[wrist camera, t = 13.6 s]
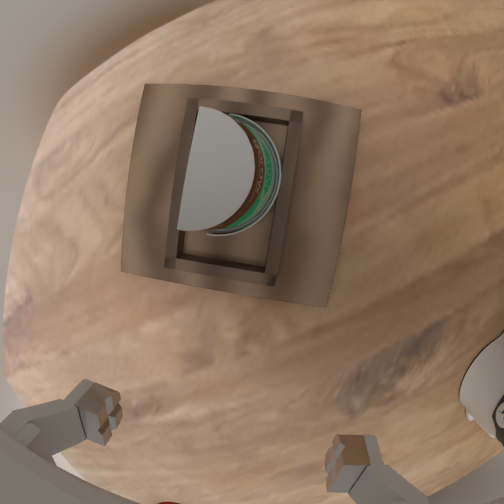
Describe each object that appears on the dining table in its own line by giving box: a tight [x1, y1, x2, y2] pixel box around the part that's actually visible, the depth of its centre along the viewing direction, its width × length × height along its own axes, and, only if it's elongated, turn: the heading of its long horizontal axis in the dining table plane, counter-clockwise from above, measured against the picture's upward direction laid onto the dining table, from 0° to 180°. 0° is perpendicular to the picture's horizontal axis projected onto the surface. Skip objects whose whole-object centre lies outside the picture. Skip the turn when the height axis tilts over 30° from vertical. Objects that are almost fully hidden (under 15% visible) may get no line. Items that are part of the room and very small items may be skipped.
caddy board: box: [121, 84, 361, 307], centre depth 30 cm, size 24×22×4 cm
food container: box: [177, 106, 281, 236], centre depth 26 cm, size 12×6×10 cm, turn 169°
